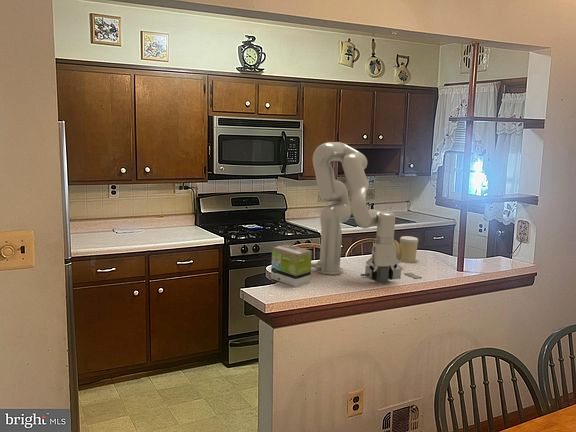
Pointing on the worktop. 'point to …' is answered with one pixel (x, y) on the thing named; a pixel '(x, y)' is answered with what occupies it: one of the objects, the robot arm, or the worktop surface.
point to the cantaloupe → (398, 250)
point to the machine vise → (395, 273)
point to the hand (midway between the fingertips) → (381, 278)
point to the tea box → (291, 265)
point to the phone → (412, 275)
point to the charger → (382, 274)
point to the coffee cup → (408, 248)
